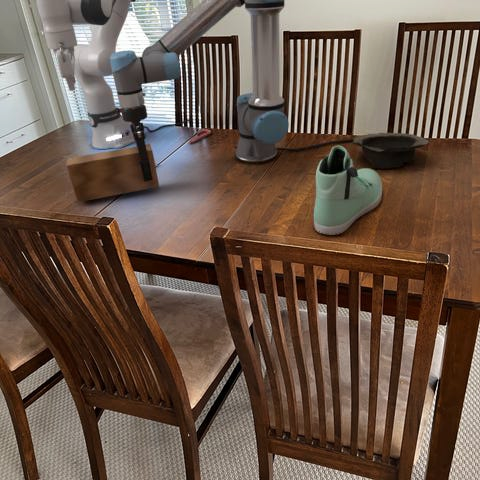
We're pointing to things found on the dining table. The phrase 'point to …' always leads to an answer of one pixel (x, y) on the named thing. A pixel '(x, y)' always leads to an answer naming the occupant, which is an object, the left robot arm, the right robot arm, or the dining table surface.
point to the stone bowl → (389, 148)
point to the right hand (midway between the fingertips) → (147, 176)
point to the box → (110, 173)
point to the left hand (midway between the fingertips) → (72, 86)
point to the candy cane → (200, 135)
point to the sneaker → (343, 192)
